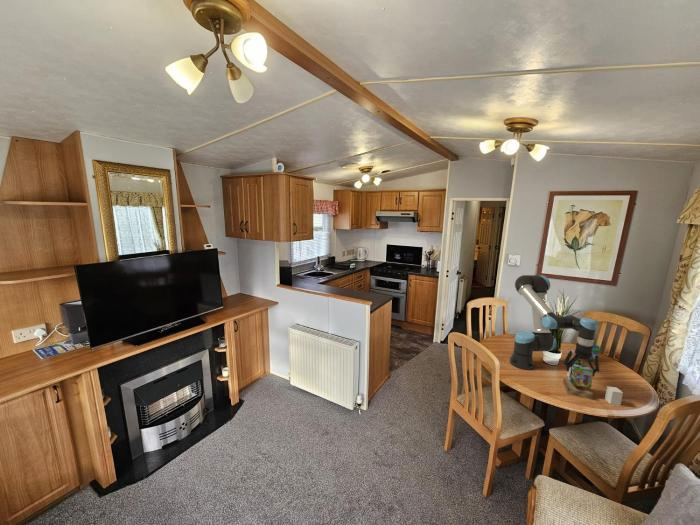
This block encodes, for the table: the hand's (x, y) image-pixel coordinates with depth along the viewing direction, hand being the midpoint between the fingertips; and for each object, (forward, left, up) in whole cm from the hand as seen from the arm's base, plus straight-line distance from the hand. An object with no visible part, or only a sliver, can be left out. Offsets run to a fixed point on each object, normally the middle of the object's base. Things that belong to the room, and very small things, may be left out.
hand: (578, 378), depth 175 cm
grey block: (+16, -3, -9) cm, 18 cm away
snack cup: (+19, +56, -9) cm, 60 cm away
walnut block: (0, 0, -9) cm, 9 cm away
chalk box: (0, 0, -3) cm, 3 cm away
